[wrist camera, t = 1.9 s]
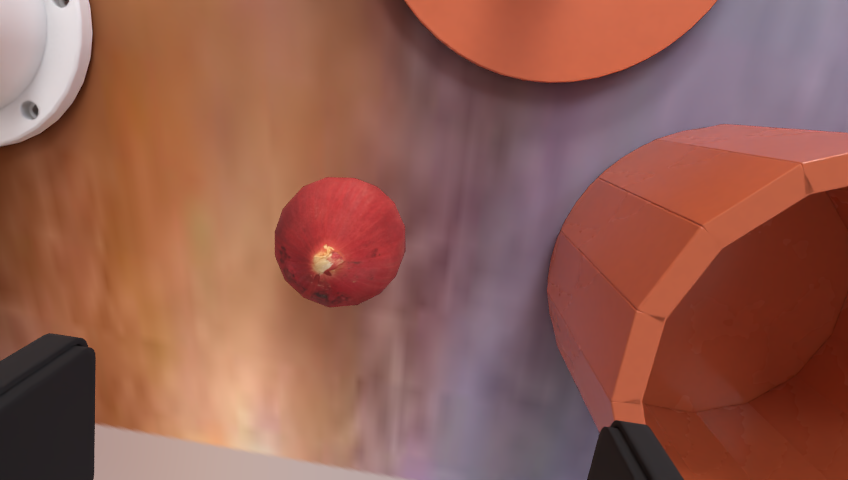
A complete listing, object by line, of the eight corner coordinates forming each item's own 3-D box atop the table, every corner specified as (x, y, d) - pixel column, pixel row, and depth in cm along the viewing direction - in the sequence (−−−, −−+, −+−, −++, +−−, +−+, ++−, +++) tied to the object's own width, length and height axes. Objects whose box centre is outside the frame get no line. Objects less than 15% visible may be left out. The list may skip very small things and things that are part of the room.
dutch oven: (509, 437, 31) (549, 625, 20) (600, 43, 26) (723, -3, 15) (785, 481, 31) (978, 692, 20) (929, 100, 26) (1296, 97, 15)
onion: (385, 293, 29) (366, 362, 22) (283, 254, 29) (226, 309, 21) (425, 193, 28) (420, 227, 20) (319, 151, 28) (272, 168, 20)
